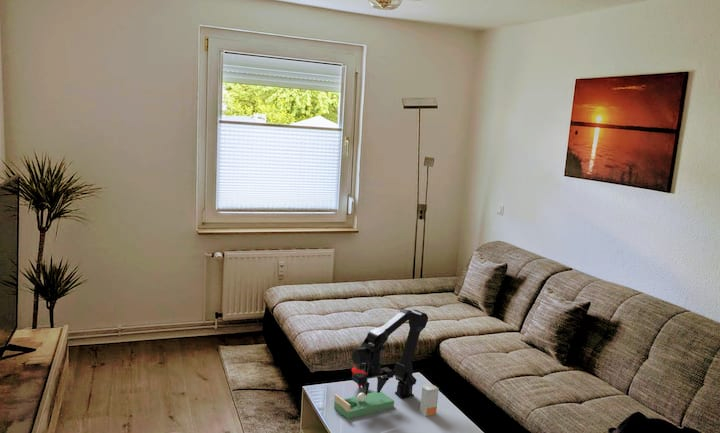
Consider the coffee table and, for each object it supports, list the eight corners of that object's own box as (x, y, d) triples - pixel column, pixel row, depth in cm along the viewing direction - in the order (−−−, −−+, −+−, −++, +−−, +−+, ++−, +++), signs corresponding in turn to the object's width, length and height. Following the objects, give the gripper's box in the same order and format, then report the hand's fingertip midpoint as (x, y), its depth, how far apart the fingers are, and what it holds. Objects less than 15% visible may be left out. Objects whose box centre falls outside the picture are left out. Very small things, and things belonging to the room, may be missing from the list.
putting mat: (379, 397, 257) (380, 384, 256) (393, 407, 248) (394, 394, 247) (333, 408, 243) (333, 394, 242) (346, 419, 234) (347, 405, 233)
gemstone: (367, 393, 259) (368, 373, 258) (348, 391, 261) (349, 370, 260) (370, 386, 268) (372, 365, 267) (352, 383, 270) (354, 363, 269)
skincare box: (425, 417, 241) (427, 390, 239) (419, 412, 244) (421, 386, 243) (436, 414, 243) (439, 388, 242) (431, 410, 247) (433, 384, 246)
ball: (363, 397, 247) (362, 389, 246) (369, 401, 244) (367, 393, 243) (356, 401, 245) (354, 393, 244) (361, 405, 242) (359, 397, 241)
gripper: (380, 350, 257) (378, 383, 259) (346, 357, 247) (344, 391, 248) (395, 359, 248) (393, 393, 250) (360, 366, 237) (358, 401, 239)
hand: (371, 394), depth 247 cm, fingers open, 6 cm apart
